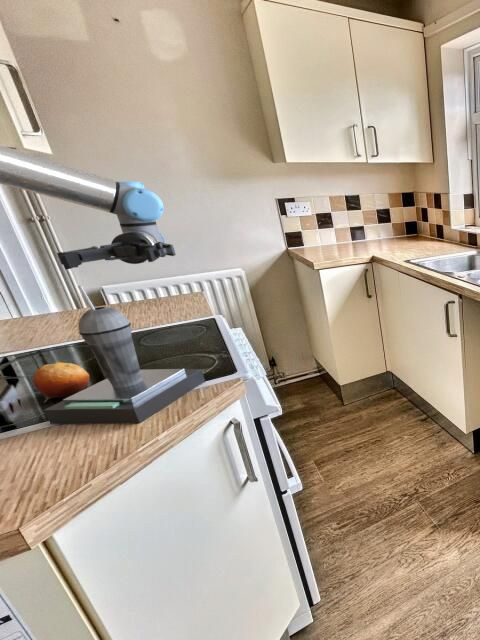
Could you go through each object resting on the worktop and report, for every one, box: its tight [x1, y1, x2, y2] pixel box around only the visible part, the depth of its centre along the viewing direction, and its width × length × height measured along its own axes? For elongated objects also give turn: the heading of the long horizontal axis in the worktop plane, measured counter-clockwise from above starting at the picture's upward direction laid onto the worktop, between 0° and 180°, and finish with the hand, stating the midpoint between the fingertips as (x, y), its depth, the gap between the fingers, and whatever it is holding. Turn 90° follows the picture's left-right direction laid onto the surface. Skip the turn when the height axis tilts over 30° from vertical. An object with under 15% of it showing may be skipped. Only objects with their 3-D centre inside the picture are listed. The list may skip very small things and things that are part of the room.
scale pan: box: [62, 368, 185, 404], centre depth 84 cm, size 13×13×1 cm
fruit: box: [32, 361, 90, 404], centre depth 87 cm, size 8×8×8 cm
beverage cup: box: [77, 285, 142, 388], centre depth 80 cm, size 7×7×20 cm
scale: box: [43, 368, 206, 425], centre depth 84 cm, size 17×17×4 cm
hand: (108, 259), depth 89 cm, fingers open, 13 cm apart
